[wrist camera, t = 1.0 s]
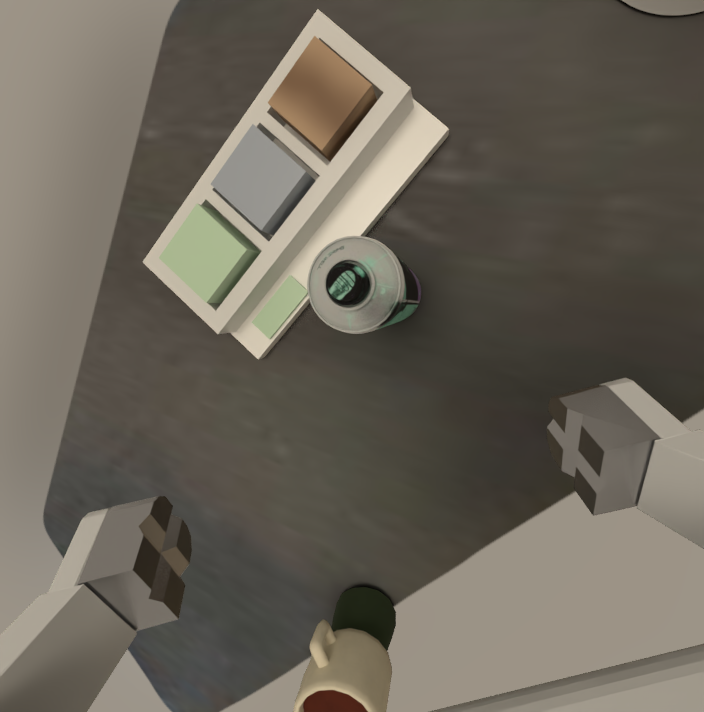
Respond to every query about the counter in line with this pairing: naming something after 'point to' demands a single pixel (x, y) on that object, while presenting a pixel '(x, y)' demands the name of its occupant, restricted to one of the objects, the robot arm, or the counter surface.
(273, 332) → the keypad
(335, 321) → the spray can
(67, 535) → the counter surface
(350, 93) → the key walnut
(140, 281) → the counter surface
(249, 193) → the key grey
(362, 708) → the character mug
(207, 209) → the key green
